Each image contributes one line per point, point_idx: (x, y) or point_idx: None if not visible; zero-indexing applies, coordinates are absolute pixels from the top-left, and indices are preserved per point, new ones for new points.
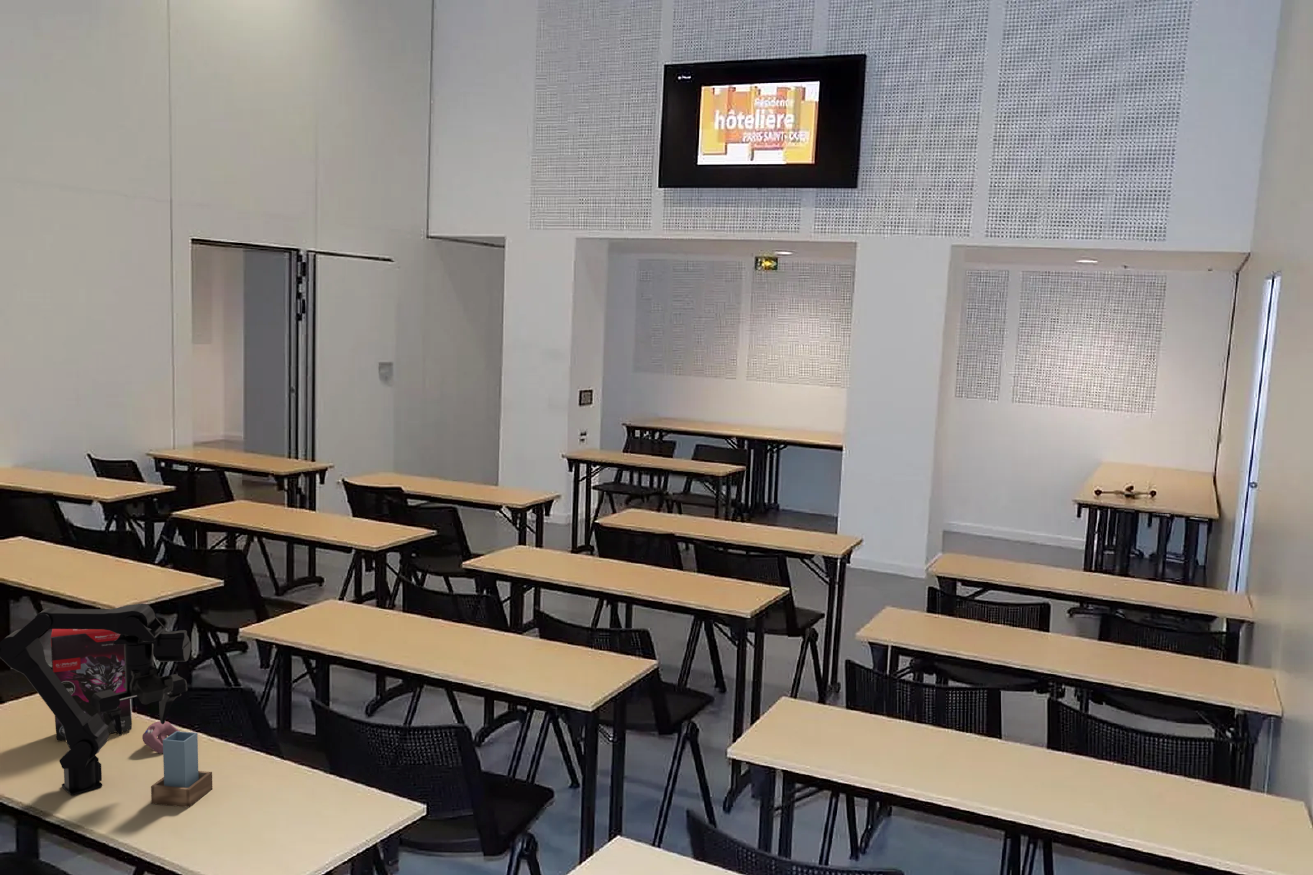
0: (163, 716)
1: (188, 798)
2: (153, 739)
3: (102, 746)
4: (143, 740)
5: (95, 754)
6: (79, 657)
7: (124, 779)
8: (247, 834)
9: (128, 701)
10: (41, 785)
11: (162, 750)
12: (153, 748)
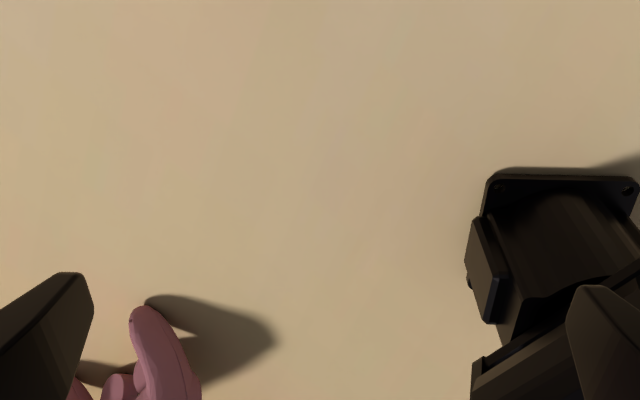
0: (11, 338)
1: None
2: (161, 378)
3: (541, 344)
4: (199, 396)
5: (636, 279)
6: None
7: (375, 184)
8: None
9: None
10: None
11: (145, 314)
12: (175, 341)
